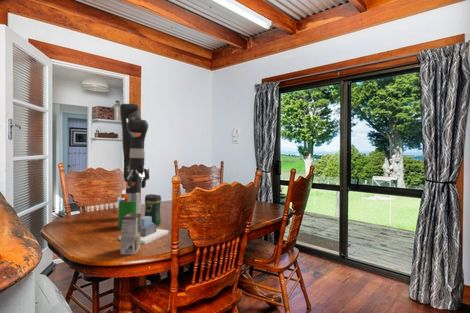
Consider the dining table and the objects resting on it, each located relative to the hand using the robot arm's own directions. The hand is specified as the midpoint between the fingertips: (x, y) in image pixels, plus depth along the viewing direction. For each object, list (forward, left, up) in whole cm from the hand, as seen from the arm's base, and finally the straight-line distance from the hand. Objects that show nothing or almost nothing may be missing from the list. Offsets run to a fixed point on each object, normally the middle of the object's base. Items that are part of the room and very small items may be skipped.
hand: (136, 187), depth 146 cm
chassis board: (0, +7, -26) cm, 26 cm away
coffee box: (+20, +15, -26) cm, 36 cm away
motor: (-9, -13, -26) cm, 30 cm away
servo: (0, +7, -24) cm, 25 cm away
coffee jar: (-21, -4, -26) cm, 33 cm away
